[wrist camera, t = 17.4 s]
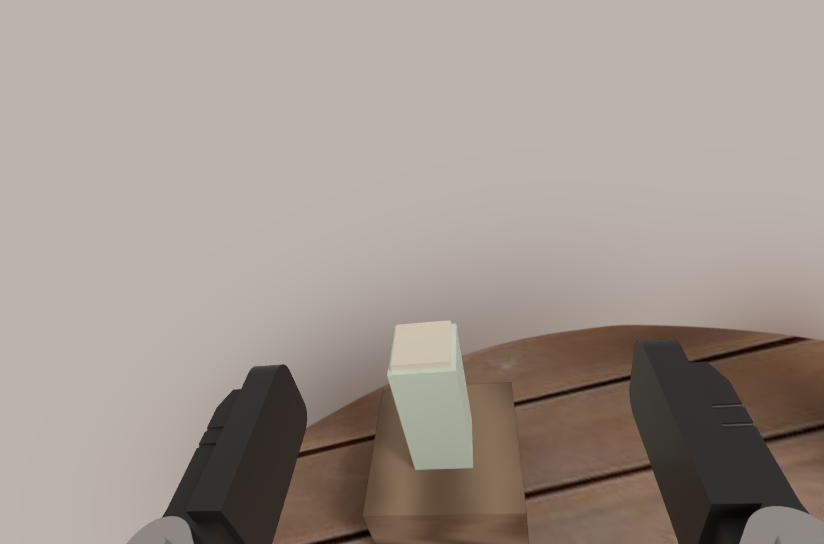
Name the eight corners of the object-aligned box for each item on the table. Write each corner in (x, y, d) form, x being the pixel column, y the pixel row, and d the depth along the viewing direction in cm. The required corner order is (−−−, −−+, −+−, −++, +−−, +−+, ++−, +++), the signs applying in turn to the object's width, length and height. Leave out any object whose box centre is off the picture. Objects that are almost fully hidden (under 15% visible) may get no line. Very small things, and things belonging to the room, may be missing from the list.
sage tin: (471, 418, 42) (455, 317, 35) (473, 468, 38) (454, 364, 31) (418, 421, 42) (392, 322, 36) (415, 469, 39) (385, 369, 32)
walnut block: (514, 423, 47) (511, 382, 44) (529, 553, 38) (526, 513, 34) (394, 429, 49) (382, 389, 46) (379, 553, 40) (362, 515, 36)
